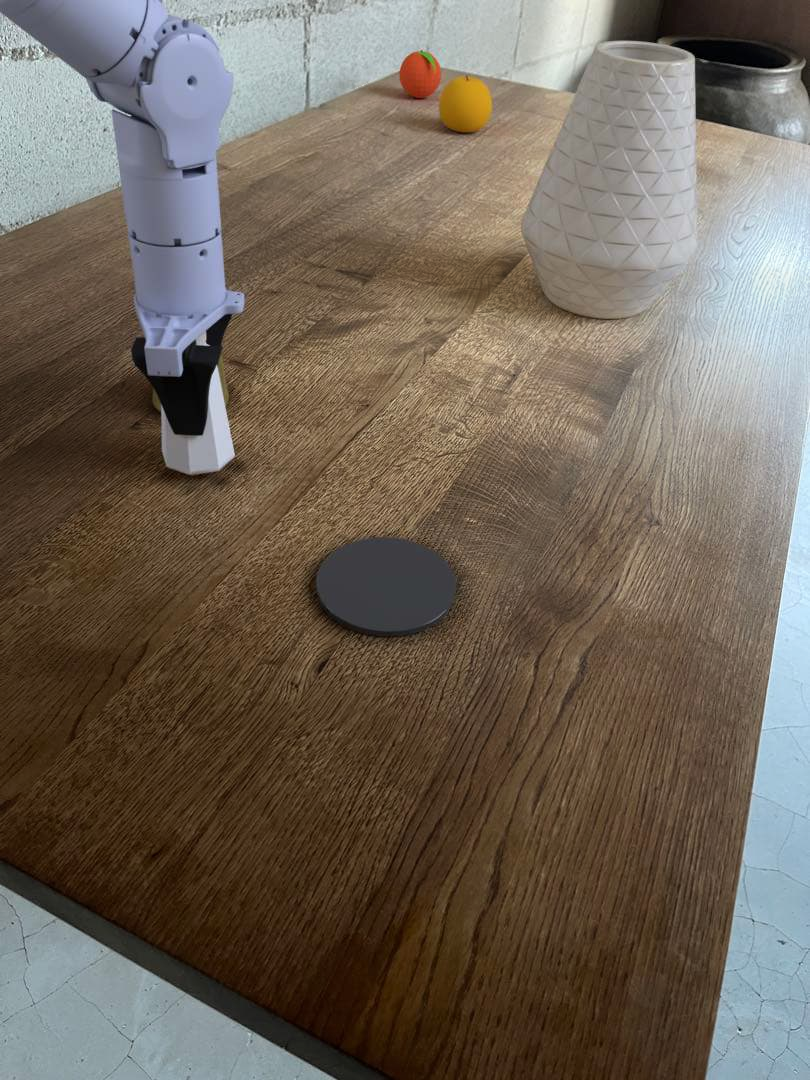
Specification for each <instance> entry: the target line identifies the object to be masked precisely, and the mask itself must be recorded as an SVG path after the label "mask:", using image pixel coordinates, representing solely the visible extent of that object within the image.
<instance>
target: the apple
mask: <svg viewBox="0 0 810 1080" xmlns="http://www.w3.org/2000/svg"><path fill="white" fill-rule="evenodd" d="M491 95H492V94H491V92H490V90H489V88H488V86H487V85H486V84H485V83H484V81H482V80H481V79H479V78H477V77H473V76H468V75H465V76H457V77H455V78H453V79H452V80H450V81H449V82H447V84H446V85H445V87H444V88H443V90H442V91H441V94H440V97H439V103H438V112H439V117H440V119H441V121H442V123H443V124H444V126H446V128H448V129H449V130H451V131H454V132H457V133H467V134H469V133H475V132H478V131H479V130H482V129H483V128H484V127H485V126H486V125H487V123H488V122H489V119H490V117H491V114H492V111H493V110H492V109H493V104H492V103H493V101H492V96H491Z"/></svg>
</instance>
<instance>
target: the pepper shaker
mask: <svg viewBox="0 0 810 1080" xmlns="http://www.w3.org/2000/svg"><path fill="white" fill-rule="evenodd" d="M196 345H205V346H210V345H208V344H206V331H205V332H204V333H203V334H201V335H200V336H199V337H198V338H197V339H196ZM227 414H228V412H227V408H226V405H225V403H224V397H223V392H222V387H221V382H220V377H219V372H218V367H217V366H216V368H215V370H214V372H213V374H212V377H211V382H210V388H209V400H208V414H207V421H206V426H205V430H204V433H203V435H202V436H196V435H175V434H174V433H173V431H172V429H171V427H170V424H169V422H168V420H167V417H166V415H165V412H164V410H163V407H162V405H161V412H160V415H161V417H160V418H161V422H160V423H161V453H162V456H163V460H164V462H165V466H166V467H167V468H168V469H171V470H174V471H177V472H180V473H183V474H185V475H188V476H195V475H196V476H197V475H203V474H210V473H214V472H220V470H221V469H222V468H224V467H225V466H226V465H227V464H228V463H229V462H230V461H231V460H233V459H234V458H235V457H236V455H235V454H236V453H235V449H234V444H233V439H232V434H231V429H230V423H229V418H228V415H227Z"/></svg>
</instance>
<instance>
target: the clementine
mask: <svg viewBox="0 0 810 1080" xmlns="http://www.w3.org/2000/svg"><path fill="white" fill-rule="evenodd" d="M398 75H399V77H398V78H399V82H400V85H401V87H402V88H403V90H404V92H405V93H406V94H408V96H410V97H413V98H415V99H424V98H428V97H430V96H431V95H433V94H434V93H436V91H437V89H438V88H439V86H440V85H441V84H440V83H441V79H442V69H441V65H440V63H439V61H438V59H437V58H436V57H435V56H434V55H433V54H432V53H430V52H428V51H424V50H423V49H421V50H420V51H419V50H418V51H414V52H413V51H412V52H411V53H409V54H408V55H407V56H406V57H405V58H404V60H403V61H402V62H401V65H400V68H399V72H398Z"/></svg>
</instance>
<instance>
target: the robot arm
mask: <svg viewBox="0 0 810 1080" xmlns="http://www.w3.org/2000/svg"><path fill="white" fill-rule="evenodd" d="M0 14H1V15H3V16H4V17H5V18H7V19H8V20H10V22H12V23H13V24H14V25H16V26H17V27H19V28H20V29H21V30H22V31H24V32H25V33H26V34H28V35H29V36H30V37H32V39H34V40H35V41H37V42H38V43H39V44H41V45H42V46H43V47H44V48H46V49H47V50H48V51H49V52H51V53H52V54H53V55H55V56H56V57H57V58H59V59H60V60H61V61H62V62H64V63H65V64H67V65H68V66H69V67H70V68H71V69H73V70H74V71H75V72H77V73H78V74H79V75H80V76H81V77H83V78H84V79H85V81H86V83H87V85H88V87H89V89H90V91H91V93H92V94H93V96H94V97H95V98H96V100H98V101H100V102H102V103H107V104H109V105H111V106H112V107H113V109H112V110H111V119H112V124H113V133H114V140H115V141H114V142H115V148H116V155H117V162H118V169H119V170H118V171H119V178H120V184H121V191H122V192H121V193H122V200H123V207H124V215H125V223H126V229H127V236H128V237H127V238H128V244H129V251H130V258H131V259H130V260H131V267H132V273H133V274H132V275H133V280H134V281H133V282H134V288H135V293H134V296H133V304H134V310H135V313H136V316H137V319H138V322H139V325H140V327H141V331H142V333H143V336H144V337H139V336H137V337H136V338H134V342H133V343H132V346H131V348H130V352H131V353H130V355H131V358H132V362H133V364H134V366H135V367H136V369H137V370H139V371H140V372H141V374H142V375H143V376H144V377H145V378H146V380H147V381H148V383H149V384H150V385H151V387H152V389H153V388H154V390H155V392H156V394H157V396H158V398H159V400H160V402H161V405H162V407H163V410H164V412H165V415H166V417H167V420H168V422H169V424H170V427H171V429H172V431H173V433H174V434H175V435H196V436H202V435H203V433H204V430H205V426H206V421H207V414H208V400H209V388H210V382H211V377H212V374H213V372H214V370H215V368H216V366H217V367H218V365H219V359H220V356H221V355H222V353H223V350H224V349H223V348H224V347H223V346H222V344H223V340H224V337H225V336H224V335H225V333H226V330H227V328H228V326H229V323H230V321H231V320H232V317H233V315H238V314H241V313H242V312H243V311H244V307H245V305H246V303H245V302H246V301H245V294H244V293H243V292H241V291H233V290H228V289H227V286H226V277H225V276H226V275H225V263H224V262H225V261H224V249H223V247H224V246H223V235H222V218H221V205H220V203H221V202H220V192H219V177H218V176H219V175H218V161H217V152H218V151H220V150H221V148H220V147H221V146H220V126H221V122H222V120H223V117H224V116H225V113H226V112H227V110H228V108H229V106H230V101H231V100H232V95H233V90H234V89H233V88H234V73H233V72H231V71H229V70H228V69H226V68H225V64H224V60H223V57H222V55H221V54H220V51H221V50H220V48H219V46H218V44H217V42H216V40H215V38H214V37H213V36H212V35H211V34H210V33H209V32H208V31H207V30H206V29H205V28H204V27H202V26H201V25H200V24H198V23H196V22H193V21H191V20H188V19H185V18H181V17H178V16H175V15H172V14H170V13H168V12H167V8H166V5H165V4H164V2H163V1H162V0H0ZM114 108H115V109H114ZM205 331H206V344H208V345H210V346H205V345H196V339H197V338H198V337H199V336H200V335H201V334H203V333H204V332H205Z"/></svg>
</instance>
